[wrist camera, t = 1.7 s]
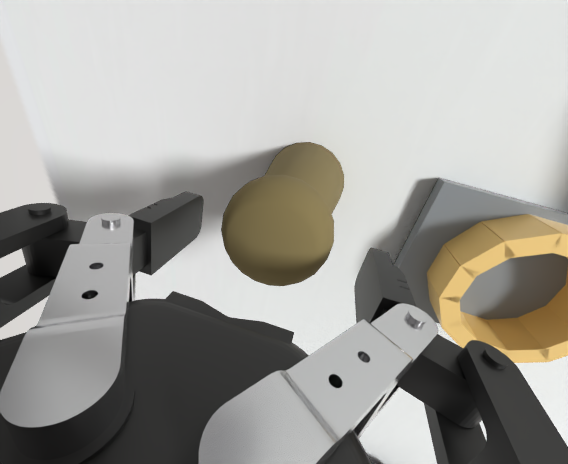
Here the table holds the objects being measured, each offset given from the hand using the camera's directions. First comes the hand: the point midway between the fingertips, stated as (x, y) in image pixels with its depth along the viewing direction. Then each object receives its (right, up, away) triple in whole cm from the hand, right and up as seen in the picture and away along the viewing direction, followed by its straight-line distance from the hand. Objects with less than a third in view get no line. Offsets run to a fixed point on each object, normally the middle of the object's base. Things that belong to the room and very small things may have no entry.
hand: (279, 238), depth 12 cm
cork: (+2, +4, +8) cm, 10 cm away
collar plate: (+17, -3, +8) cm, 19 cm away
